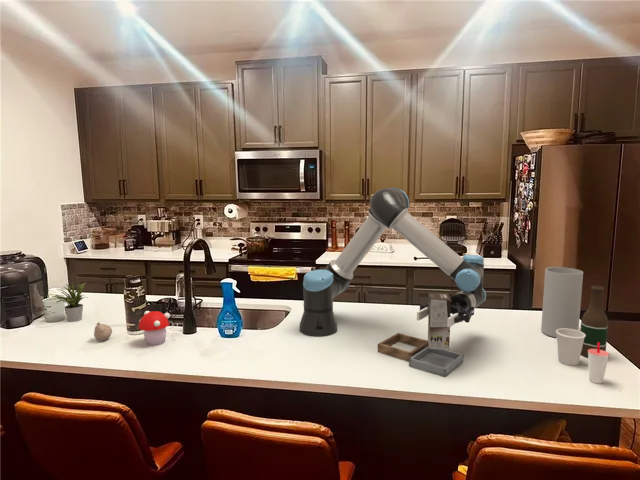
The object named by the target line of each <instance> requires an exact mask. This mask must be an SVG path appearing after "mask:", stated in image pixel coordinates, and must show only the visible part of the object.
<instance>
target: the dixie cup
mask: <svg viewBox="0 0 640 480" xmlns="http://www.w3.org/2000/svg"><path fill="white" fill-rule="evenodd" d="M556 333H557V338H556V343H557V344H556V345H557V359H558V362H559V363H561V364H564V365H565V366H571V367H572V366H578V365H579V362H580V358H581V356H582V355H581V350H582V346H583V342H584V338H585V336H586V335H585V334H584V333H583V332H581V331H580V330H574V329H567V328H561V329H557V330H556Z"/></svg>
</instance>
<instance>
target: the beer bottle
mask: <svg viewBox="0 0 640 480" xmlns="http://www.w3.org/2000/svg"><path fill="white" fill-rule="evenodd" d="M590 290H591V291H590V298H589V299H590V300H589V305H588V309H587V310H586V311H585V312H584V313H583V314H582V316H581V321H580V328H579V329H580V330H579V331H581V332H583V333H584V334H585V335H586V336H585V338H584V342H583V346H582V350H581V355H580V356H583V357H584V358H587V359H588V349H597V343H598V342H600V350H603V351H606V352H607V342H608V338H607V337H608V331H609V319H608V317H607V314H606V312H605V311H604V307H603V305H604V291H605V288H604V287H603V286H601V285H592V286H591V287H590Z"/></svg>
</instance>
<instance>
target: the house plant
mask: <svg viewBox="0 0 640 480" xmlns="http://www.w3.org/2000/svg"><path fill="white" fill-rule="evenodd" d="M85 284H87V282H84V283H82V284H78V285H77V287H76V288H75V285H74V284H72V286H70V285H69V284H66V286H67V287H66V286H62V287H63V288H64V289H65V290H66V291H65V290H63V289H59V288H57V291H58V292H60V293H61V294H63V295H65V296H62V295H61V296H60V295H51V297H52V298H54V299H55V300H56V299H58V300H57V301H56V303H55V304H57V303H59V302H63V303H65V304H67V305H65V306H64V311H65V314H66V318H67V321H68V322H69V323H74V322H80V321H81V320H82V319H83V308H84V304H82V303H80V301H82V300H83V299H84V298H87V299H89V297H88V296H85V295H84V294H82V293H83V291H84V289H86V288H87V287H84V286H85ZM83 288H84V289H83ZM67 292H68V293H67ZM83 296H84V297H83Z"/></svg>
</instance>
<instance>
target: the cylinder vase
mask: <svg viewBox="0 0 640 480" xmlns="http://www.w3.org/2000/svg"><path fill="white" fill-rule="evenodd" d="M544 271H545V272H544V282H543V284H544V285H543V296H542V297H543V301H542V313H541V326H540V327H541V328H540V329H541V332H542V333H543V334H544V335H546V336H549V337H552V338H554V339H557V333H556V330H557V329H561V328H567V329H574V330H578V331H580V330H579V329H580V328H579V327H580V316H581V315H580V314H581V306H582V293H583V290H582V289H583V279H584V271H582V270H580V269H577V268H569V267H560V266H559V267H557V266H553V267H551V266H550V267H545V269H544Z"/></svg>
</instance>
